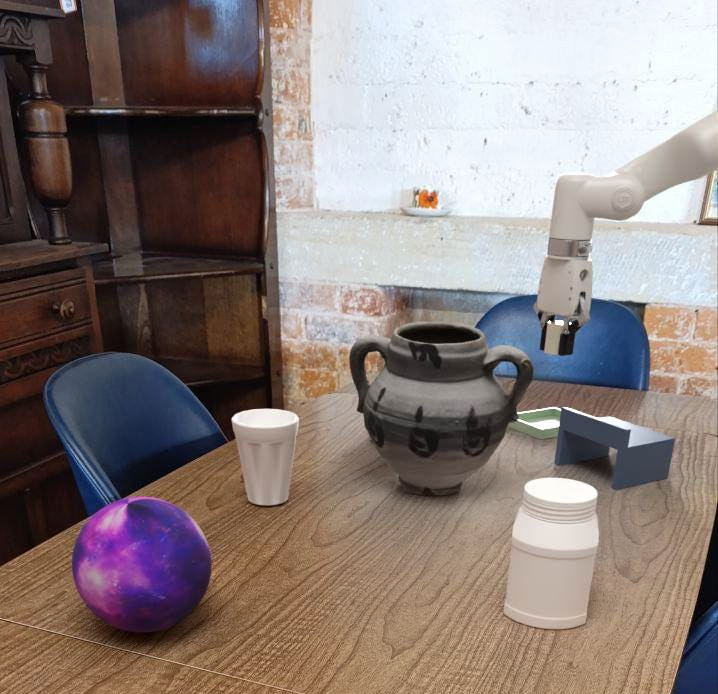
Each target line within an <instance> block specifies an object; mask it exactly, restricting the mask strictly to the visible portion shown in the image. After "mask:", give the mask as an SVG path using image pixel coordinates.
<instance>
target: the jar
mask: <svg viewBox="0 0 718 694" xmlns="http://www.w3.org/2000/svg"><path fill="white" fill-rule="evenodd" d="M598 497H599V493H598V490H596V488H595V487H594V486H592V485H590V484H588V483H586V482H582V481H579V480H575V479H571V478H563V477H541V478H536V479H532V480H530V481H528V482H526V483H525V484H524V486H523V493H522V502H521V505H520V506H519V507H518V508H517V509H516V510H515V513H514V514H515V516H514V523H513V525H512V532H511V539H510V555H509V563H508V574H507V582H506V591H505V599H504V604H503V610H502V611H503V612H502V613H503V614H504V615H505V616H506V617H507V618H509V619H510V620H512V621H514V622H517V623H519V624H520V625H521V624H522V625H524V626H527V627H532V628H535V629H544V630H568V629H572V628H577V627H580V626H582V625H585V624H586V622H587V617H588V606H589V602H590V601H589V600H590V596H591V595H590V594H591V588H592V582H593V576H594V570H595V564H596V557H597V554H598V549H599V540H600V531H599V517H598V515H597V513H596V512H597V511H596V509H597V501H598Z"/></svg>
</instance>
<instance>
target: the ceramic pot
mask: <svg viewBox="0 0 718 694" xmlns="http://www.w3.org/2000/svg"><path fill="white" fill-rule="evenodd" d="M374 352H378V353H379V354H380V357H381V358H382V359H383V360H384V365H383V368H381V370H380V371H379V373H378V374H377V376H376V377H375V378H374V380H373V381H372V382H371V383H370V381H369V380H368V377H367V369H366V358H367V356H368V354H369V353H374ZM501 363H512V364H513V365H514V367H515V370H516V378H515V382H514V384H513V386H512V389H511V391H510V392H509V394H508V395H507V393H506V390H505V388H504V386H503V384H502V382H501V381H500V380H499V379H498V378H497V376H496V375H495V374H494V371H495V369H496V368H497V367H498V366H499V365H500V364H501ZM534 369H535V368H534V365H533V362H532V360H531V358H530V357H529V356H528V354H526V352H524V351H523V350H521V349H519V348H517V347H515V346H513V345H507V344H505V345H502V344H499V345H496V346H492V347H491V348H489V345H488V342H487V339H486V336H485V333H484V332H483V331H482V330H481V329H478V328H477V327H474V326H471V325H467V324H464V323H458V322H453V321H416V322H408V323H406V324H403V325H400V326H399V327H397V328H395V329H394V330H393V333H392V336H391V338H389V337H386V336H382V335H377V334H367V335H365V336H363V337H360V338H358V339H357V340H356V341H355V342H354V343H353V345H352V346H351V348H350V351H349V370H350V374H351V379H352V382H353V384H354V386H355V389H356V392H357V397H358V402H357V408H356V412H358V413H360V414H363V416H362V417H363V423H364V428H365V430H366V431H367V434H368V435H369V436H368V437H370V440H371V442H372V444H373V446H374V447H375V449H376V451H377V453H378V454H379V457H381V459H383V461H384V462H385V464H386V465H387V466H388V467H389V468H390V469H391V471H392V472H394V473H395V474H396V475H397V476H398V480H399V483H400V486H401V487H402V489H403V490H404V491H406V492H408V493H411V494H414V495H422V496H446V495H451V494H454V493H456V492H458V491H459V490H460V489H461V488H462V485H463V481H465V480H466V479H468V478H469V477H470V476H472V475H473V474H475V473H477V472H478V471H479V470H480V469H481V468H482V467H484V465H486V463H487V462H488V461H489V460H490V459H491V457H492V456H493V455H494V453H495V451H496V450H497V449H498V447H500V444H501V442H502V441H503V439H504V437H505V436H506V432H507V429H508V428H509V427H508V424H509V423H514V422H516V421H517V420H518V419H519V415H518V413H519V412H518V411H517V407H518V405H519V404H520V402H521V400H523V397H524V395H525V393H526V392H527V390H528V388H529V386H530V385H531V383H532V381H533V377H534Z"/></svg>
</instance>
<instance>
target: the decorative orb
mask: <svg viewBox="0 0 718 694" xmlns="http://www.w3.org/2000/svg"><path fill="white" fill-rule="evenodd" d="M71 569H72V570H71V572H72V578H73V582H74V586H75V588H76V590H77V592H78V595H79V597H80V599H81V600H82V601H83V603H84V605H85V606H86V607H87V609H89V610H90V612H91V613H93V614H94V615H95V616H96V617H97V618H98V619H100V620H102V621H103V622H104V623H106V624H108V625H110V626H111V627H114V628H117V629H119V630H123V631H127V632H131V633H153V632H159V631H163V630H167V629H169V628H171V627H173V626H175V625H178V624H179V623H180V622H182V621H183V620H185V619H187V617H189V616H190V615H191V614H193V612H194V611H195V610H196V609H197V607H198V606H199V605H200V603H201V602H202V601H203V598H204V597H205V595H206V593H207V591H208V588H209V585H210V582H211V577H212V553H211V549H210V545H209V542H208V540H207V538H206V536H205V534H204V532H203V530H202V529H201V527H200V526H199V524H198V523H197V522H196V521H195V519H193V517H191V516H190V515H189V514H188V513H187V512H186V511H185V510H184V509H182V508H180V507H179V506H177V505H175V504H173V503H171V502H169V501H166V500H163V499H160V498H157V497H151V496H132V497H131V496H129V497H125V498H121V499H118V500H115V501H113V502H110V503H109V504H106V505H105V506H104V507H101V508H100V509H99V510H98V511H96V512H95V513H93V515H92V516H91V517H90V518H89V519H88V520H87V521H86V522H85V524H84V525H83V526H82V528H81V530H80V531H79V533H78V535H77V537H76V540H75V543H74V546H73V550H72V555H71Z"/></svg>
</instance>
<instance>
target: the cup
mask: <svg viewBox="0 0 718 694" xmlns="http://www.w3.org/2000/svg"><path fill="white" fill-rule="evenodd" d="M299 423H300V418H299V417H298V415H297V414H296V413H294V412H292V411H289V410H284V409H279V408H255V409H248V410H243V411H240V412H237V413H235V414H234V415H233V416H232V417H231V425H232V431H233V433H234V437H235V442H236V446H237V452H238V458H239V462H240V467H241V471H242V478H243V482H244V483H243V484H244V487H245V492H246V497H247V500H248V502H250V503H251V504H254V505H259V506H276V505H280V504H283V503H285V502H287V501H288V499H289V495H290V487H291V479H292V474H293V464H294V457H295V449H296V442H297V434H298V431H299Z"/></svg>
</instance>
